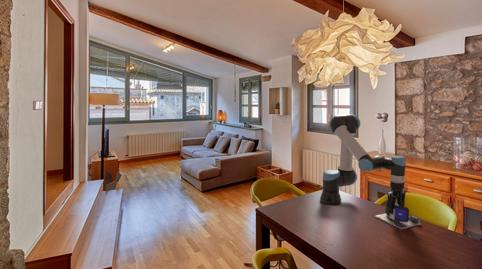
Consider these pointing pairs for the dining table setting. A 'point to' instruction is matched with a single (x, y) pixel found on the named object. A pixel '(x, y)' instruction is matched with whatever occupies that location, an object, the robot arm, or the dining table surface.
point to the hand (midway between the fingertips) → (395, 217)
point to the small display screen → (399, 212)
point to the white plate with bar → (401, 225)
